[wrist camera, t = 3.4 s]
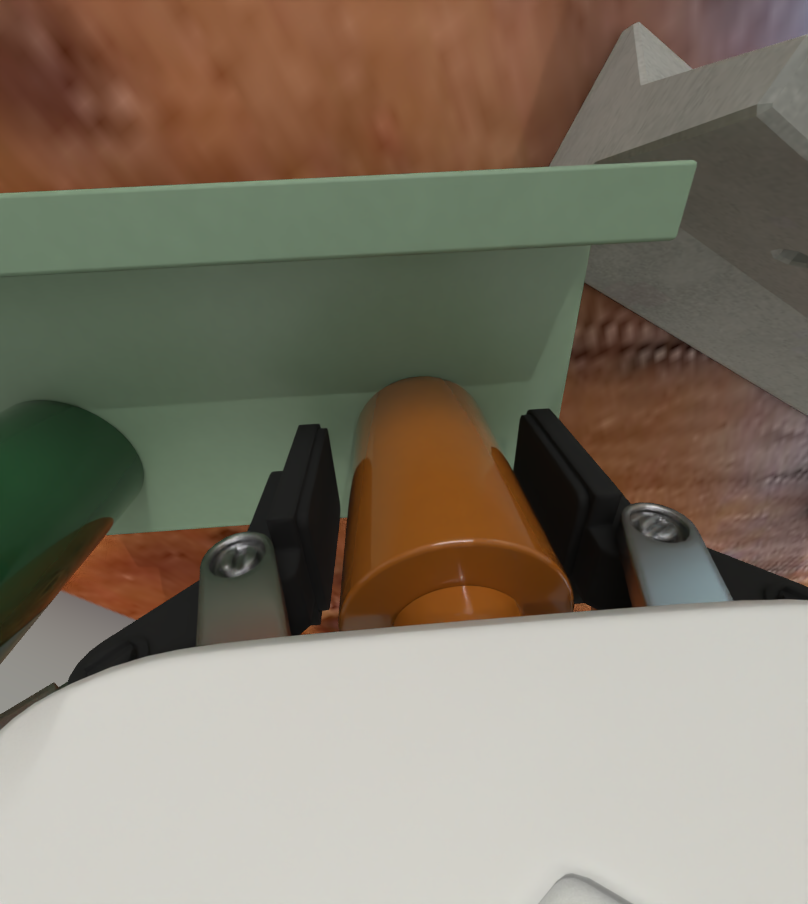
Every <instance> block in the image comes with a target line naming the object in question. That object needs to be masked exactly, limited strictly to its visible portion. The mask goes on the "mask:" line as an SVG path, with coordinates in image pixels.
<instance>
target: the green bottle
mask: <svg viewBox="0 0 808 904" xmlns="http://www.w3.org/2000/svg"><path fill="white" fill-rule="evenodd" d="M143 482H144V470H143V465H142V462H141V460H140V457H139V455H138V453H137V451H136V450H135V448H134V447H133V445H132V444H131V443H130V441H129V440H128V439H127V438H126V437H125V436H124V435H123V434H122V433H121V432H120V431H119V430H118V429H117V428H115V427H114V426H113V425H111V424H110V423H109V422H107V421H106V420H104V419H103V418H101V417H99V416H98V415H96V414H94V413H92V412H90V411H88V410H85V409H83V408H80V407H78V406H74V405H71V404H68V403H63V402H58V401H50V400H32V401H25V402H21V403H17V404H15V405H13V406H10V407H8V408H6V409H5V410H3V411H1V412H0V664H1V663H2V662H3V660H4V659H5V658H6V656H7V655H8V654H9V653H10V652H11V650H12V649H13V648H14V647H15V645H16V644H17V643H18V642H19V641H20V640H21V638H22V637H23V636H24V635H25V633H26V632H27V631H28V629H29V628H30V627H31V626H32V625H33V624H34V622H35V621H36V620H37V619H38V617H39V616H40V615H41V614H42V612H43V611H44V610H45V609H46V608H47V606H48V605H49V604H50V603H51V602H52V600H53V599H54V598H55V597H56V595H57V594H58V593H59V592H60V591H61V589H62V588H63V587H64V586H65V584H66V583H67V582H68V581H69V579H70V578H71V577H72V576H73V575H74V573H75V572H76V571H77V570H78V568H79V567H80V566H81V565H82V564H83V562H84V561H85V560H86V559H87V557H88V556H89V555H90V554H91V553H92V551H93V550H94V549H95V548H96V546H97V545H98V544H99V543H100V542H101V540H102V539H103V538H104V537H105V535H106V534H107V533H108V532H109V530H110V529H111V528H112V527H113V526H114V524H115V523H116V522H117V521H118V519H119V518H120V517H121V516H122V515H123V513H124V512H125V511H126V510H127V508H128V507H129V506H130V505H131V504H132V502H133V501H134V500H135V499H136V497H137V496H138V495H139V493H140V491H141V489H142V486H143Z"/></svg>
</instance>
